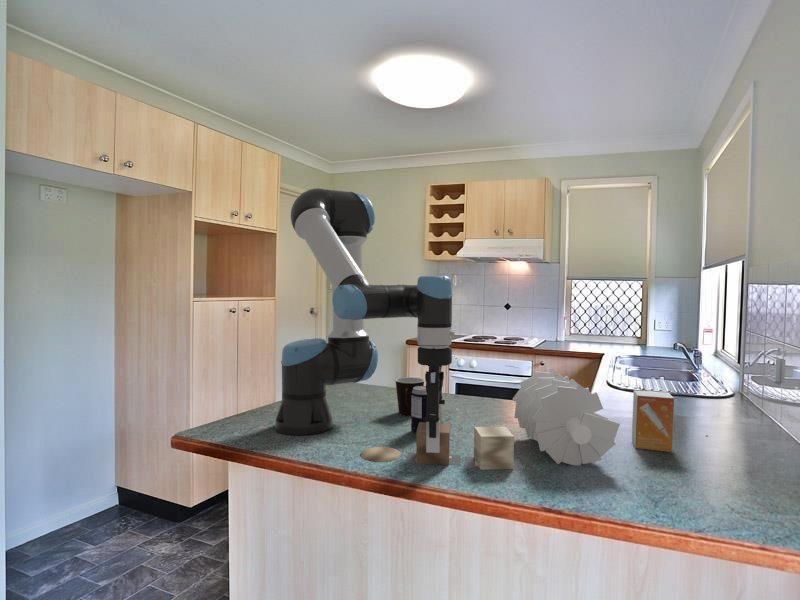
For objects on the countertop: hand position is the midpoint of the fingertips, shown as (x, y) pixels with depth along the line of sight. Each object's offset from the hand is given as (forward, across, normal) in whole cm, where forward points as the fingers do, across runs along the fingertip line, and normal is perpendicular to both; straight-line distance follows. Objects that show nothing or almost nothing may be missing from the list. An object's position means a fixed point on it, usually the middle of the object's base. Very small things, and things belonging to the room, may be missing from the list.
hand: (434, 442), depth 111 cm
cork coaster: (+4, +1, +12) cm, 13 cm away
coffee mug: (+4, +37, +10) cm, 39 cm away
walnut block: (+4, 0, 0) cm, 4 cm away
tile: (+4, 0, 0) cm, 4 cm away
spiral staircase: (+5, +10, -29) cm, 31 cm away
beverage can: (+4, +19, +4) cm, 20 cm away
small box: (+5, +17, -52) cm, 55 cm away
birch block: (+4, -1, -13) cm, 13 cm away
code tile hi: (+4, -1, -13) cm, 13 cm away
